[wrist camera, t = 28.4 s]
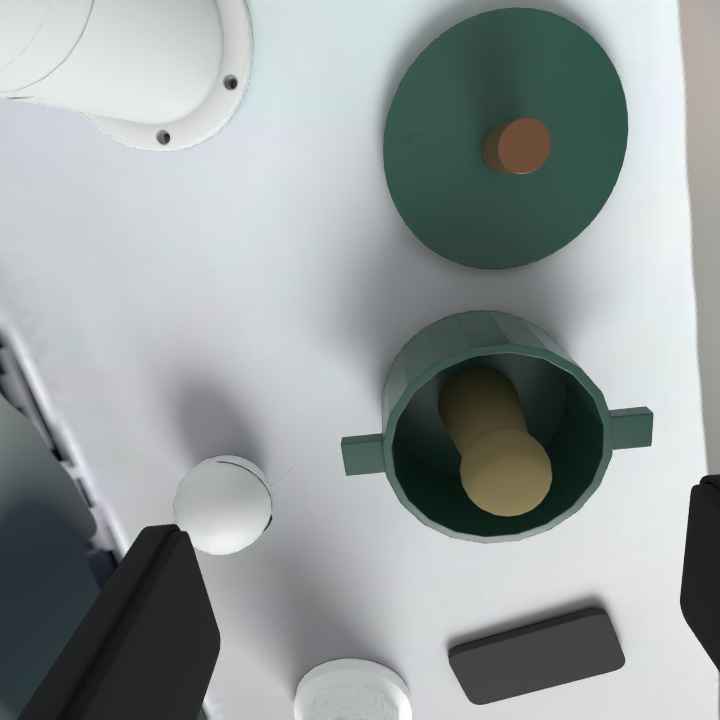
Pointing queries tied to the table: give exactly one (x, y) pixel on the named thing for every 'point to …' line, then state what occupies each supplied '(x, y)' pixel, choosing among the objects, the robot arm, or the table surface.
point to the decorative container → (352, 692)
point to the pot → (540, 410)
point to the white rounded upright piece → (223, 504)
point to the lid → (505, 138)
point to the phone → (537, 657)
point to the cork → (494, 442)
